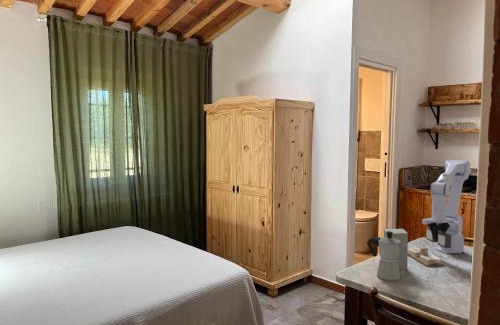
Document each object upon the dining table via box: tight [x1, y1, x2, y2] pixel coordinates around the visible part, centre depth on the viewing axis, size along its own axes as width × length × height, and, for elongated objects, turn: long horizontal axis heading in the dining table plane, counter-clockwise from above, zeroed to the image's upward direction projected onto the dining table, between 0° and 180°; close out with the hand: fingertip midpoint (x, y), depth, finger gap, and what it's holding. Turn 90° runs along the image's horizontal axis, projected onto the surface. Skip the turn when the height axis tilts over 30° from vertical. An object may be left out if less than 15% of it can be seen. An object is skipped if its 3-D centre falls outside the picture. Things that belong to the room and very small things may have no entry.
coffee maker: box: [366, 231, 406, 282], centre depth 145 cm, size 15×9×18 cm, turn 57°
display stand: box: [407, 246, 445, 268], centre depth 165 cm, size 8×17×5 cm, turn 7°
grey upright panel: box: [425, 226, 451, 248], centre depth 165 cm, size 14×3×6 cm, turn 7°
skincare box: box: [383, 228, 409, 270], centre depth 155 cm, size 8×7×16 cm
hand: (437, 239), depth 165 cm, fingers closed on grey upright panel, 2 cm apart
